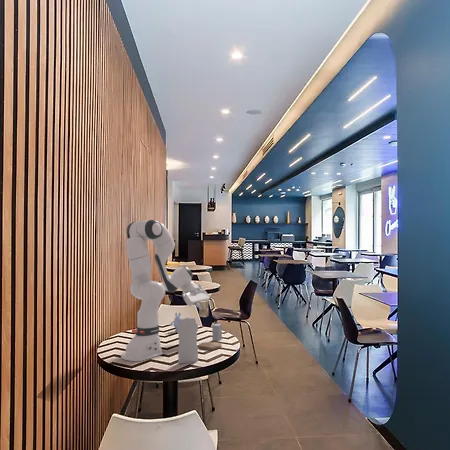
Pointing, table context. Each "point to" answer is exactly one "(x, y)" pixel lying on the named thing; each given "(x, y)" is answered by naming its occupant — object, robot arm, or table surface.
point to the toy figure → (176, 321)
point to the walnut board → (209, 346)
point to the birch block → (203, 311)
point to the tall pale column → (187, 341)
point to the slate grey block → (217, 332)
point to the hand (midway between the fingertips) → (204, 308)
